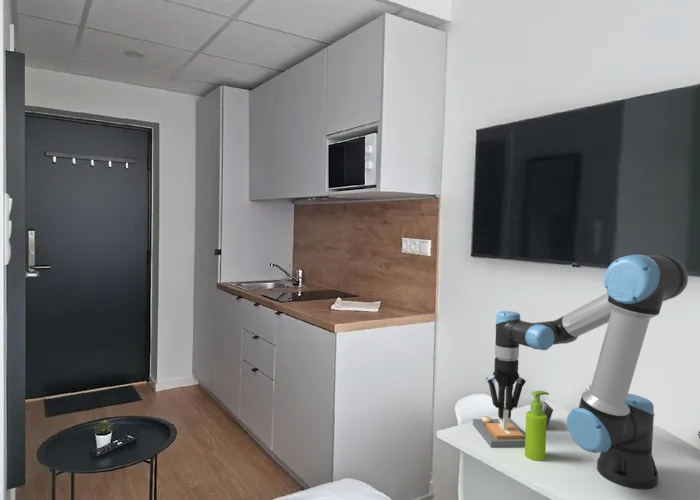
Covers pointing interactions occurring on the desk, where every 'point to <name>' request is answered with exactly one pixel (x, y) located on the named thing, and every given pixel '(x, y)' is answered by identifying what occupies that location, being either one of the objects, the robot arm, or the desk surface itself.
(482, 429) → the grey tray
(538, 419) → the soap dispenser
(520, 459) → the desk surface
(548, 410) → the electrical switch
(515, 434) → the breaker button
